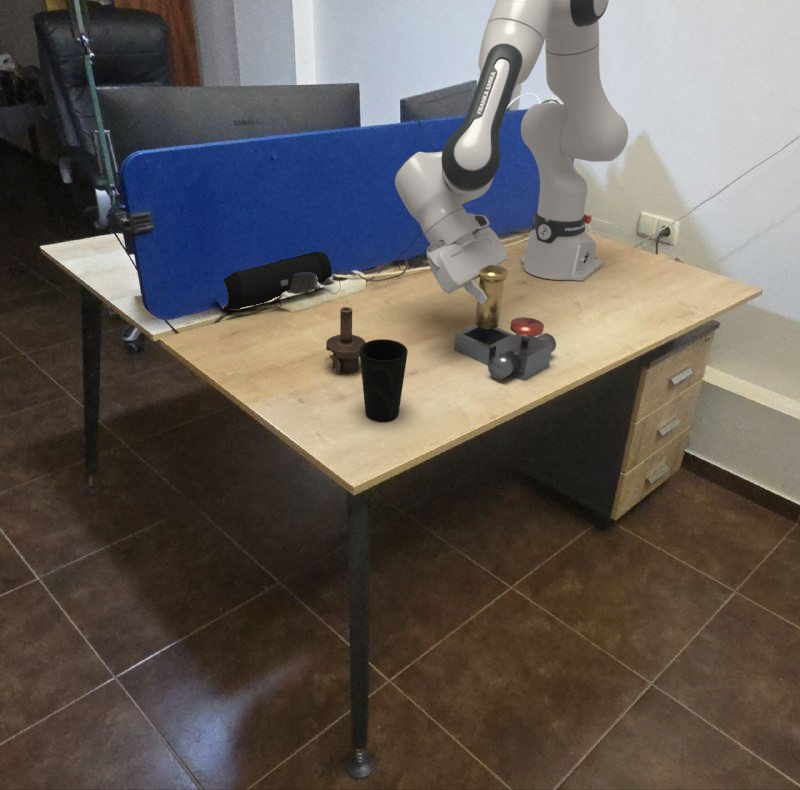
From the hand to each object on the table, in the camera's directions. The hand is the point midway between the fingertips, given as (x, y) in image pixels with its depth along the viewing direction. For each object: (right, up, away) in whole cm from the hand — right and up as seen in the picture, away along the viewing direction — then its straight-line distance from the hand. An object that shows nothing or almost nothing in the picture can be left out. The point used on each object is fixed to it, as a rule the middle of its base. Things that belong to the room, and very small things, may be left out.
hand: (493, 296), depth 133 cm
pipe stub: (-1, -5, +3) cm, 6 cm away
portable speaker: (-46, +3, +25) cm, 52 cm away
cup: (-21, -22, -15) cm, 33 cm away
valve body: (+2, -11, +4) cm, 12 cm away
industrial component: (-27, -14, -1) cm, 30 cm away
